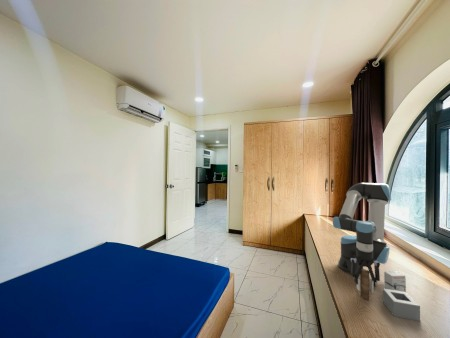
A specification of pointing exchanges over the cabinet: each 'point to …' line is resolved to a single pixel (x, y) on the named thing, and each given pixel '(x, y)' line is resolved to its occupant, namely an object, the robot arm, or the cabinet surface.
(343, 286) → the cabinet surface
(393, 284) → the ink box
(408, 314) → the socket block
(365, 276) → the walnut dowel
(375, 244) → the robot arm
